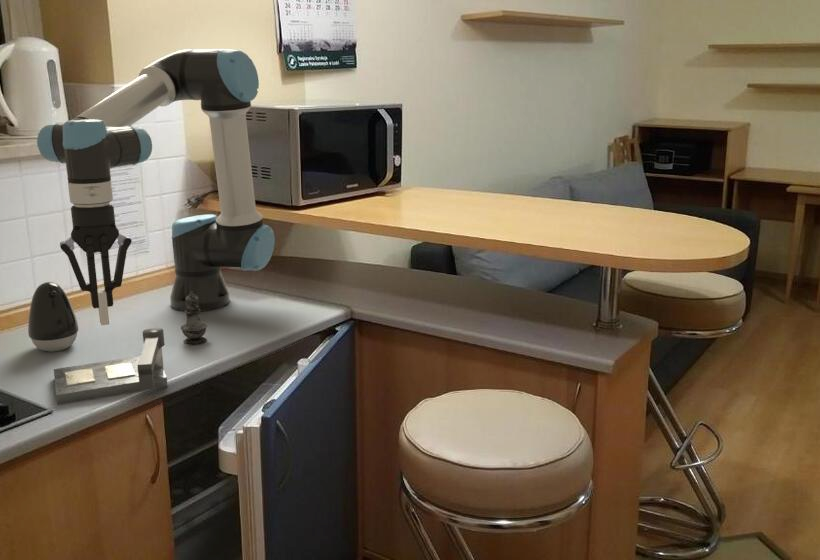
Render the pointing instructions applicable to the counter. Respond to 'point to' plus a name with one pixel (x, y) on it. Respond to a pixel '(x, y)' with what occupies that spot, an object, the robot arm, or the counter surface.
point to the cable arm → (149, 356)
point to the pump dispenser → (51, 319)
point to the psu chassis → (104, 379)
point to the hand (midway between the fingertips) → (104, 322)
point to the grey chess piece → (193, 322)
